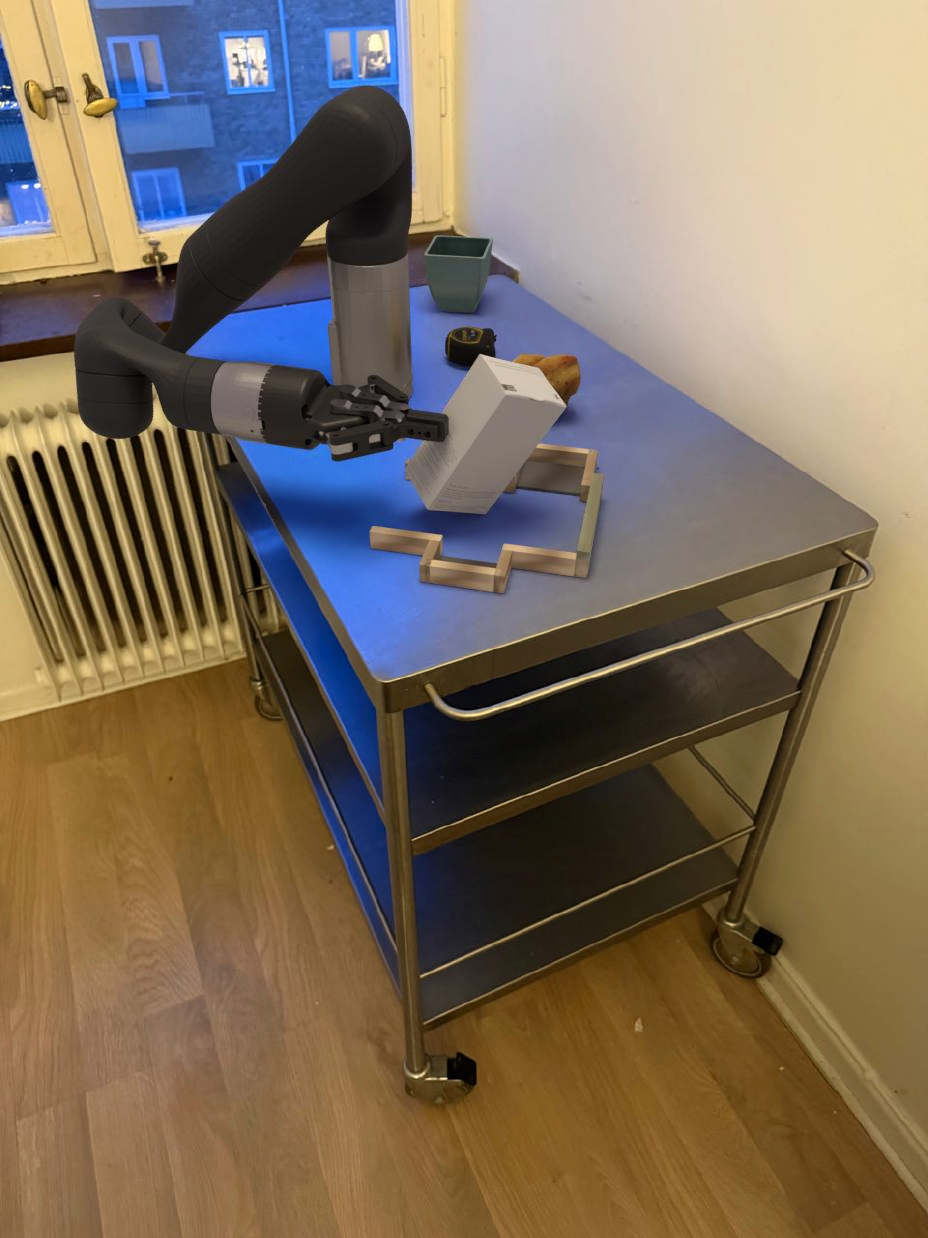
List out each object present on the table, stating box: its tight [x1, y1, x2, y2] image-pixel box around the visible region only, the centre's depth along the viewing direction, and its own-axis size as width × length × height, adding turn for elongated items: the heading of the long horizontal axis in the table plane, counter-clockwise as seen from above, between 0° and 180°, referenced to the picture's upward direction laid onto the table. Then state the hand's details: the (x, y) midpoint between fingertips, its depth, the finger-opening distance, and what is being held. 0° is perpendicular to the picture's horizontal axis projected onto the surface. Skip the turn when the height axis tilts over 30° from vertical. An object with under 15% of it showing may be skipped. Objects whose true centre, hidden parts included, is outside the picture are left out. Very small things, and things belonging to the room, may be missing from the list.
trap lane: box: [369, 443, 605, 594], centre depth 90 cm, size 21×24×3 cm
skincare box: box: [404, 354, 568, 515], centre depth 85 cm, size 8×6×15 cm
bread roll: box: [511, 352, 582, 414], centre depth 105 cm, size 13×10×8 cm
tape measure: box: [444, 326, 498, 368], centre depth 118 cm, size 7×7×4 cm
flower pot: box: [423, 234, 494, 314], centre depth 130 cm, size 9×9×9 cm
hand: (446, 428), depth 81 cm, fingers closed
